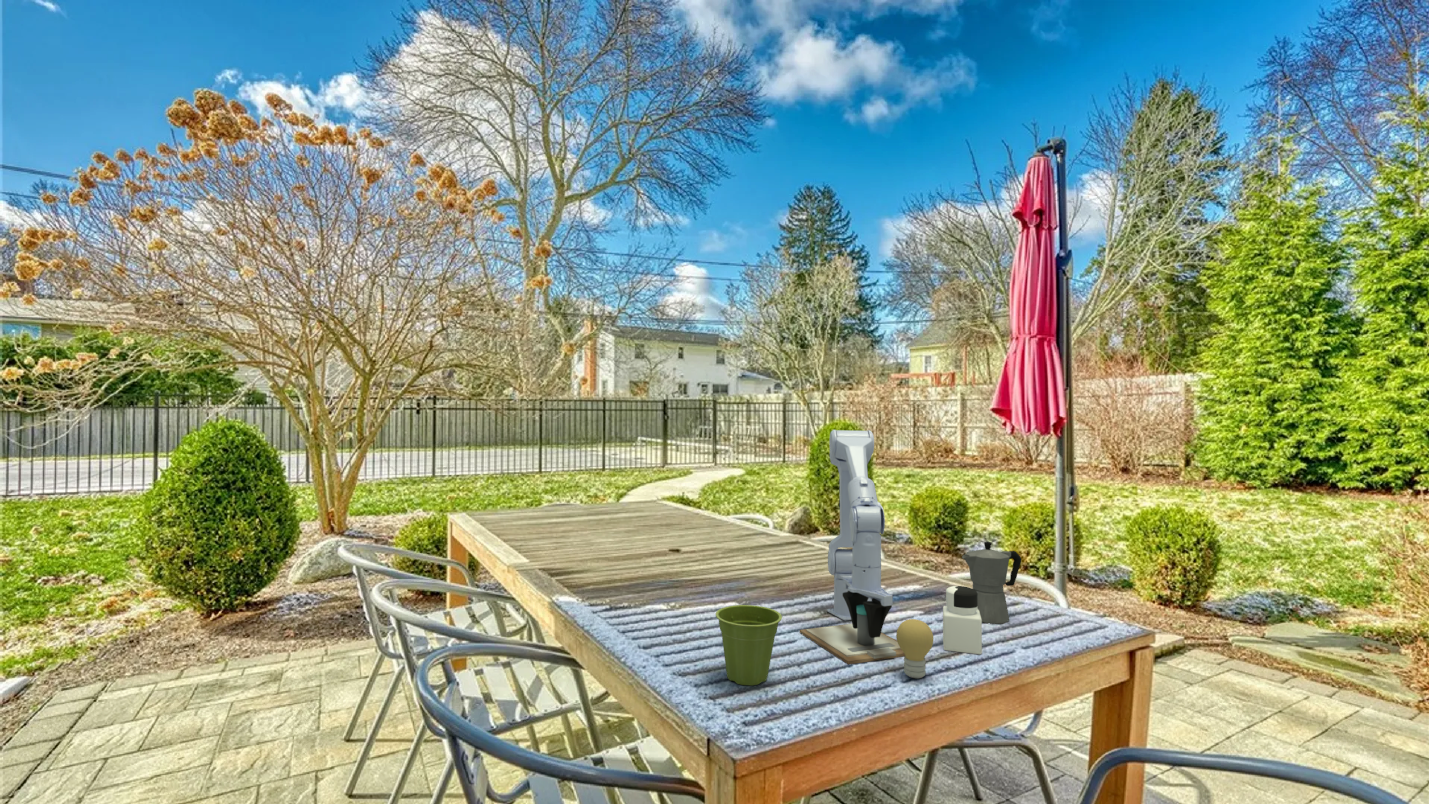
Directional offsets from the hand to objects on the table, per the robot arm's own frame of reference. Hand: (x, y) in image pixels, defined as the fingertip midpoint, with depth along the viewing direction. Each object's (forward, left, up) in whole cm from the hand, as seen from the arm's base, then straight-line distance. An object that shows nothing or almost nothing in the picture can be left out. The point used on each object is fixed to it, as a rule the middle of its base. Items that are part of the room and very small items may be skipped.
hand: (866, 632), depth 127 cm
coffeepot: (-40, -7, -3) cm, 41 cm away
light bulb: (0, +15, -3) cm, 15 cm away
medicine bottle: (-19, +6, -3) cm, 20 cm away
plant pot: (+29, +6, -3) cm, 30 cm away
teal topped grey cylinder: (0, 0, -2) cm, 2 cm away
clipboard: (0, -3, -3) cm, 4 cm away
